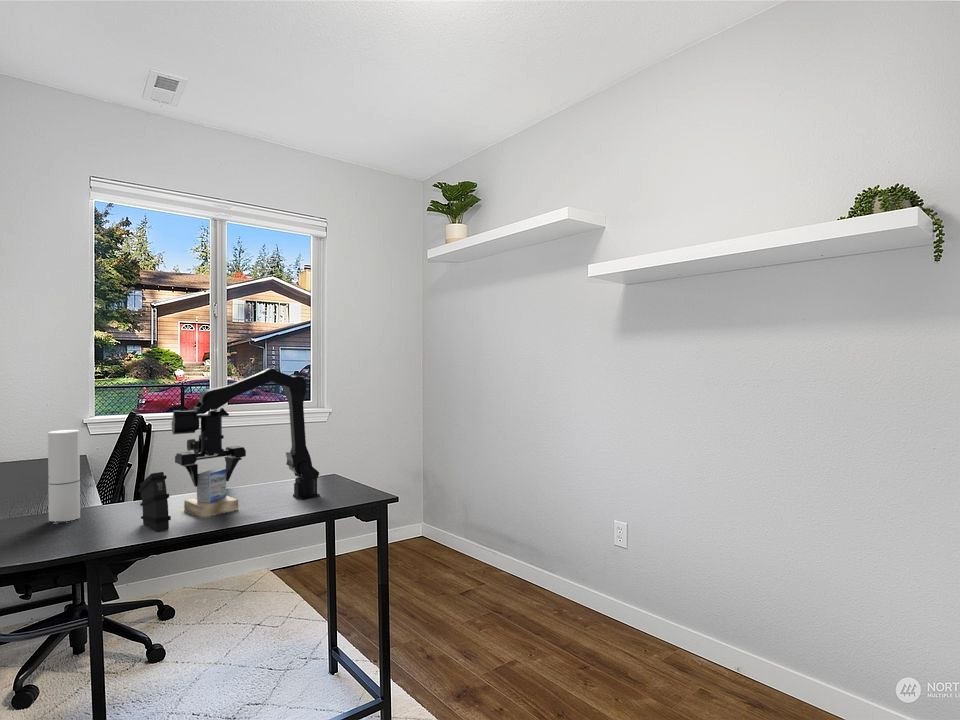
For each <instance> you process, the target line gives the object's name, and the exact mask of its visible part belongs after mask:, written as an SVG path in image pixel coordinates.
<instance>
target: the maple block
mask: <svg viewBox="0 0 960 720" xmlns="http://www.w3.org/2000/svg"><path fill="white" fill-rule="evenodd" d="M183 502H184V509H183V510H184V512H185V511H186V512H185V513H187V514H190V513H191V514H190V515H192V514H193V516H195V517H197V516H198V517H197V518H199V517H200V519H203V518H202V517H204V518H208V517H212V516H211V515H213V516H216V514H218V515H222V514H226V512H227V513H231V512H234V510H236V511H239V499H238V498H235V497H232V496H229V495H227V494H226V497H224V498H222V499H220V500H217V501H215V502H212V503H198V502H197V497H196V498H188V499H185V500H184V501H183ZM230 511H231V512H230ZM221 513H222V514H221ZM207 516H208V517H207Z"/></svg>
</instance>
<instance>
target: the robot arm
mask: <svg viewBox="0 0 960 720" xmlns="http://www.w3.org/2000/svg"><path fill="white" fill-rule="evenodd" d="M268 383H273V384H275V385H277V386H279V387H282V388H283V391H284V395H285V398H286V399H287V402H288V407H289V409H288V410H289V423H290V425H289V426H290V438H291V439H290V440H291V441H290V442H291V449H290V451H289V452H285V456H286V463H285V464H286V465H287V466H288V468H289V470H290V471H291V472H293V474H294V476H295V477H296V478H294V483H293V494H292V497H294V498H297V499H300V500H306V499H310V498H317V497H319V496H321V495H320V493H318V479H319V476H320V471H318V470H317V469H316V468H315V467H314V466H313V463H312V459H311V455H310V452H309V450H308V448H307V439H306V425H305V411H304V409H305V407H304V403H305V398H306V395H307V386H308V383H307V380H306V379H305V378H304V377H303V376H300V375H290V374H286V373H283V372H281V371H278V370H276V369H275V368H265V369H263V370H262V371H259V372H258V373H254V374H253V375H250V376H248V377H244V378H242V379H240V380H238V381H235V382H233V383H230V384H228V385H223V386H218V387H212V388H208V389H204V391H201V393H200V395H199V397H198V401H197V403H196V404H195V405H194V406H193V408H192V409H191V410H173V413H172V420H171V432H172V435H174V436H175V435H184V434H185V435H186V434H195V433H196V431H198V430H199V429H200V434H199V435H198V440H196V439H195V438H190V439H187V440H186V450H187V451H185V452H177V453H176V454H175V456H174V463H175V464H177V465H180V466H182V467H184V468H185V470H187V472H188V473H189V477H190V479H191V482H192V484H193V486H194V487H196V488H197V483H198V474H199V471H198V470H199V465H198V464H197V463H196V462H197V461H199V460H207V459H214V458H221V457H222V458H223V457H224V461H225V469H226V482H229V481H230V479H231V476H232V475H233V473H234V470H235V468H236V466H237V464H238V463H239V461H242V459H243V458H244V457H246V456H247V450H246V448H245V447H243V446H241V445H233V446H226V448H225V449H224V448H223V439H224V435H225V434H223V430H222V429H223V426H222V425H223V424H222V423H223V420H222V419H223V418H222V417H229V416H230V413H228V412H227V411H226V410H225V408H223V407H222V406H224V405H226V404H227V403H228V402H230V401H231V400H232V399H234V398H236V397H238V396H240V395H242V394H245V393H247V392H249V391H251V390H254V389H256V388H259V387H261V386H263V385H266V384H268ZM218 409H219V410H218ZM192 451H193V452H192Z"/></svg>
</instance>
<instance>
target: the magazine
mask: <svg viewBox="0 0 960 720" xmlns="http://www.w3.org/2000/svg"><path fill="white" fill-rule="evenodd" d="M166 479H167V475H165V474H164V471H159V472H154V473H153V472H152V473H150V474H149V475H148V476H147V477H146V478H145V479H144V480H143V481H142V482H141V483H139V489H138V490H137V491H138V493H140V495H141V496H140V497H141V503H140V504H139V505H140V507H142V515H140V519H141V520H142V524H143V525H144V526H146V527H148V528H150V529H151V530H153V531H155V532H157V533H160V532H164V530H165V531H168V530H169V529H170V527H169V526H170V525H169V523H170V522H169V521H171V520H172V519H171V518H172V516H171V515H169V504H168V503H169V501H168V499H169V498H170V493H168V492H167V484H166Z"/></svg>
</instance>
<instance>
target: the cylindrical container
mask: <svg viewBox="0 0 960 720" xmlns="http://www.w3.org/2000/svg"><path fill="white" fill-rule="evenodd" d="M47 454H48V455H47V459H48V460H47V461H48V464H47V466H48V467H47V470H48V472H47V473H48V475H47V476H48V477H47V478H48V484H47V485H48V522H49V521H55V522H56V521H70V520H75V519H78V518H79V519H81V479H80V477H81V476H80V475H81V473H80V472H81V469H80V467H81V465H80V463H81V459H80V430H79V429H60V430H52V431H48V432H47ZM79 519H78V520H79ZM75 521H76V520H75Z"/></svg>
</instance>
